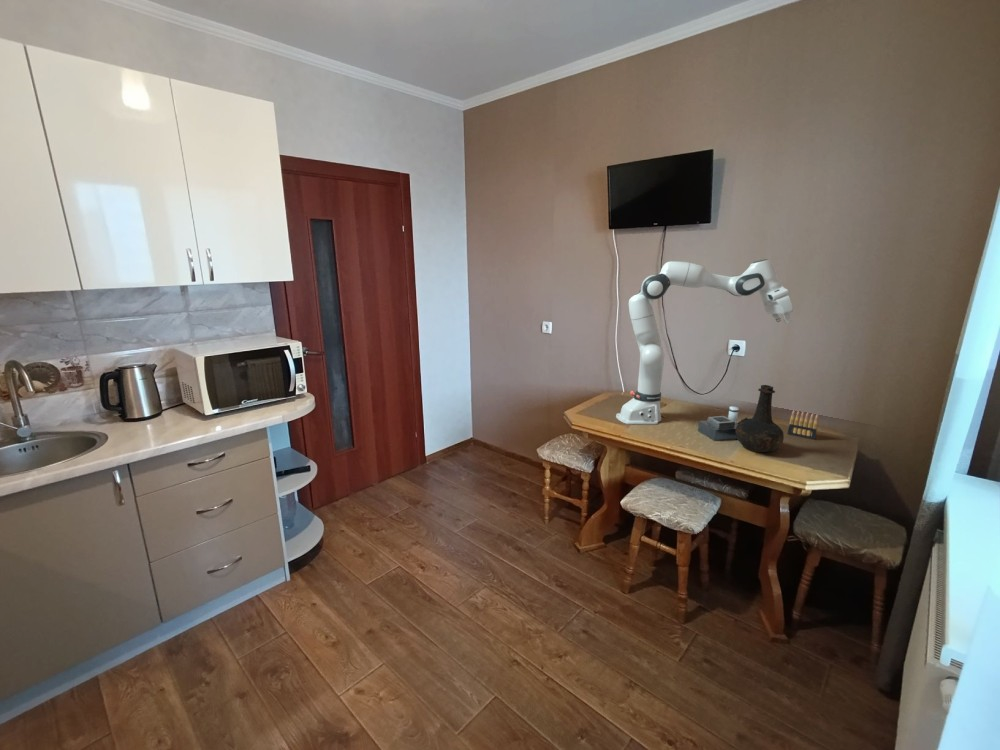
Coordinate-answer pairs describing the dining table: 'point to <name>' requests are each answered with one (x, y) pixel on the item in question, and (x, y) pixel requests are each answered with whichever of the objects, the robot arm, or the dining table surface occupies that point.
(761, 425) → the glass bottle
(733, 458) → the dining table surface
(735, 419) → the dome-capped cylinder
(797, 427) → the ammunition clip
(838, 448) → the dining table surface
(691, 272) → the robot arm
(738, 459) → the dining table surface
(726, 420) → the square socket base
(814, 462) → the dining table surface
